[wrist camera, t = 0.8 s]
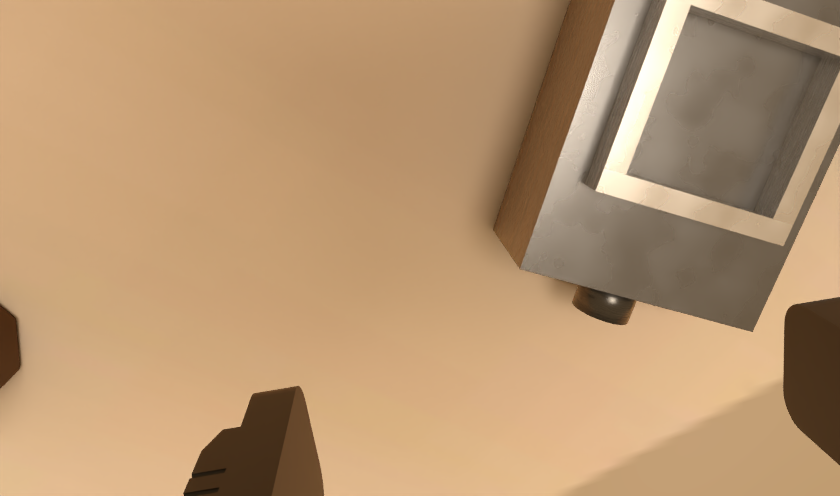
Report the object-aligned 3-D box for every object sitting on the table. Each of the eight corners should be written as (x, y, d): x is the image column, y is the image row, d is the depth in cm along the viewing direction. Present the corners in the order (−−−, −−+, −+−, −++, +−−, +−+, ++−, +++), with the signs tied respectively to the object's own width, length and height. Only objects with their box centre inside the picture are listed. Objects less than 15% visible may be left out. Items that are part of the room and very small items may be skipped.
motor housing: (609, -114, 32) (688, -170, 24) (821, -35, 34) (963, -63, 26) (482, 262, 37) (512, 321, 29) (673, 314, 39) (752, 382, 31)
